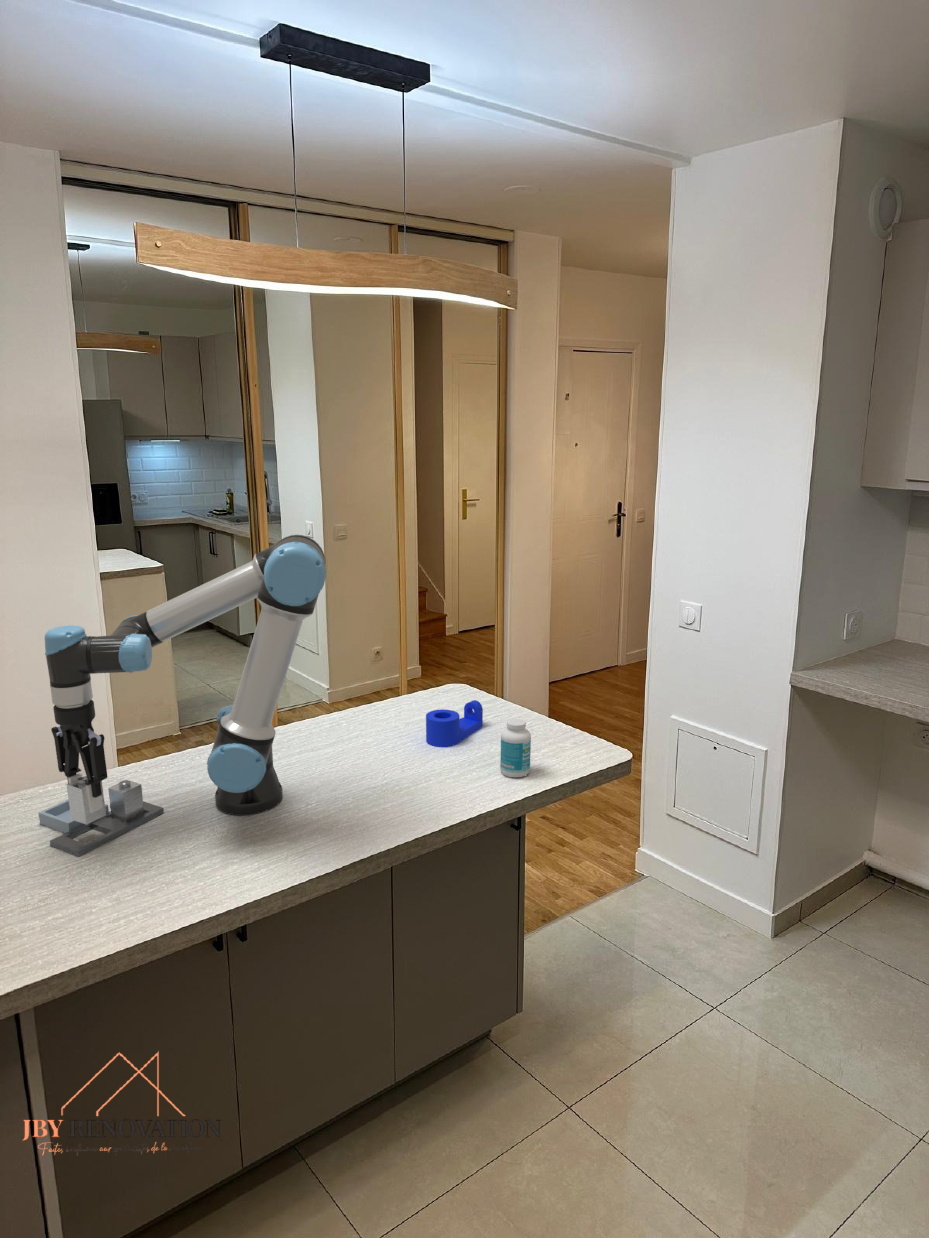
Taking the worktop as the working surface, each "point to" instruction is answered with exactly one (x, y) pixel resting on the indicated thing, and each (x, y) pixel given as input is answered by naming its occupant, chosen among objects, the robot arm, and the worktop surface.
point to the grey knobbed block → (126, 801)
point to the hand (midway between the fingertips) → (87, 806)
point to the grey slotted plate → (103, 825)
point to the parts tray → (60, 817)
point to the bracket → (453, 725)
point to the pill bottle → (515, 749)
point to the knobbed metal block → (82, 802)
